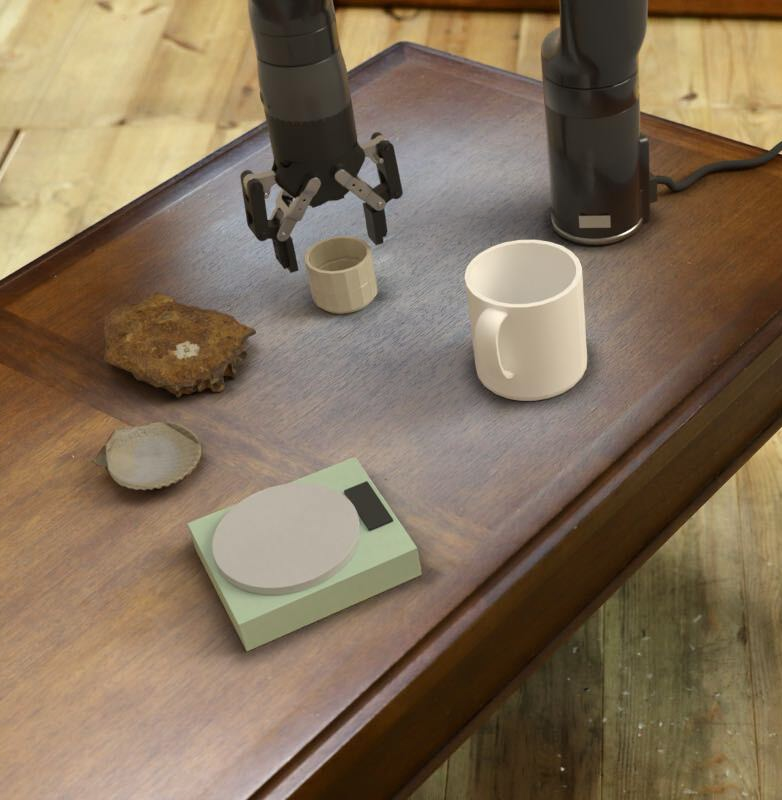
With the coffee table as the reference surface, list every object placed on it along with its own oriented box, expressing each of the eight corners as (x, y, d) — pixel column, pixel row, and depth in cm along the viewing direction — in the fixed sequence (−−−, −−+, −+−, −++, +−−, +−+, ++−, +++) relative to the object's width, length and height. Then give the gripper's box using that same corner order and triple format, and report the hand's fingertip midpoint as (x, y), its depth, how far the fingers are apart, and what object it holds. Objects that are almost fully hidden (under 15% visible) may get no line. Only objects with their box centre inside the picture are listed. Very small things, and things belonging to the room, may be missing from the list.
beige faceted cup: (363, 271, 136) (355, 228, 133) (388, 302, 132) (381, 259, 129) (304, 291, 134) (295, 249, 131) (328, 324, 130) (319, 280, 127)
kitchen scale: (360, 483, 113) (353, 448, 111) (422, 574, 105) (415, 540, 103) (195, 550, 108) (184, 515, 105) (246, 652, 100) (235, 617, 97)
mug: (508, 322, 129) (498, 230, 122) (605, 347, 126) (601, 253, 119) (441, 403, 120) (427, 309, 114) (544, 432, 117) (536, 336, 110)
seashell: (177, 519, 113) (221, 441, 117) (169, 501, 111) (214, 422, 115) (86, 490, 114) (133, 414, 118) (76, 471, 112) (125, 394, 116)
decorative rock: (71, 372, 126) (198, 423, 121) (57, 339, 123) (187, 389, 118) (154, 300, 133) (278, 345, 128) (143, 266, 131) (269, 311, 125)
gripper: (242, 137, 114) (276, 297, 124) (400, 92, 119) (420, 250, 130) (213, 101, 119) (248, 258, 129) (365, 60, 124) (387, 214, 135)
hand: (334, 254), depth 129 cm, fingers open, 8 cm apart
